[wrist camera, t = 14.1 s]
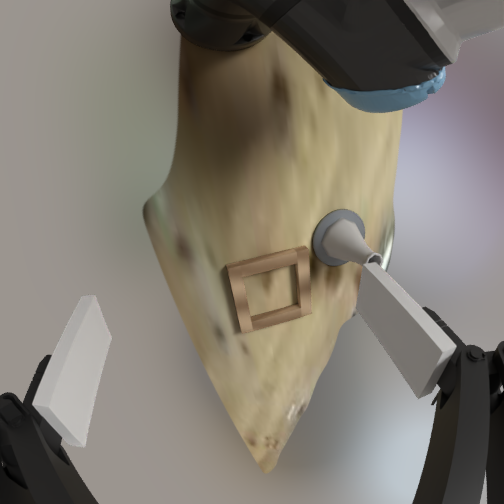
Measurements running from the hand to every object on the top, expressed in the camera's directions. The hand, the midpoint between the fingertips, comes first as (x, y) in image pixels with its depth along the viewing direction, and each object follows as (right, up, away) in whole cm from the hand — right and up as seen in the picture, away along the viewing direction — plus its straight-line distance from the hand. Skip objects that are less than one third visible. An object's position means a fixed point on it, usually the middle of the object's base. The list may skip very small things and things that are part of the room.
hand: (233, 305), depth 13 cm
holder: (+4, -4, +35) cm, 36 cm away
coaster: (+16, +5, +35) cm, 38 cm away
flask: (+16, +5, +34) cm, 38 cm away
